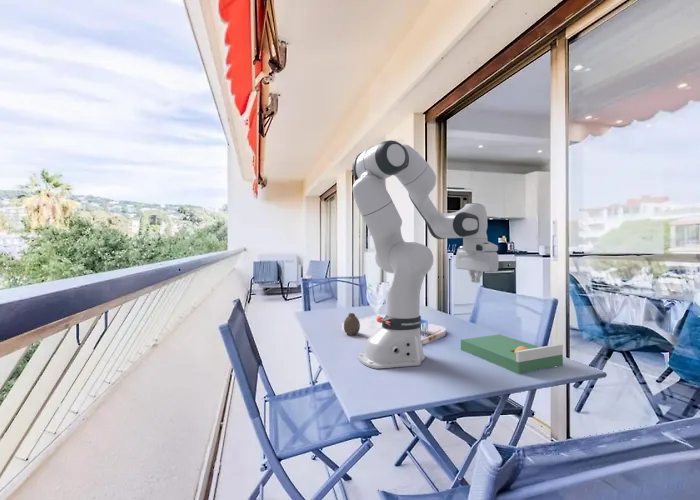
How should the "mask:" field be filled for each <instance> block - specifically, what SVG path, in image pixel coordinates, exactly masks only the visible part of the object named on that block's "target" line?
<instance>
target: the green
mask: <svg viewBox="0 0 700 500" xmlns="http://www.w3.org/2000/svg"><path fill="white" fill-rule="evenodd" d="M563 345H564V344H562V343H558V344H557V343H556V344H552V345H551V344H550V345H546V346H545V345H544V346H538V345H535V344H531V343H528V342H525V341H522V340H520V339H519V340H518V339H516V338H512V337H509V336H506V335H503V334H493V335H485V336H479V337H470V338H465V339H460V350H461V351H462V352H463V351H464V352H466V353H468V354H471V355H473V356H475V357H478V358H480V359H482V360H485V361H487V362H489V363H491V364H492V363H493V364H494V365H495V366H499V367H501V368H504V369H505V370H509V372H513V373H515V374H517V375H521V374H522V375H523V374H527V373H532V372H537V371H541V370H540V369H542V370H546V369H545V368H547V369H551V368H550V367H553V368H556V367H555V366H558V367H563V366H564V365H563V364H564V362H563V361H564V352H563V350H564V347H563ZM519 346H524V347H527V348H528V349H526V350H520V351H516V353H514V351H515V349H516V348H517V347H519ZM536 370H537V371H536Z"/></svg>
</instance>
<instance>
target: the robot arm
mask: <svg viewBox="0 0 700 500" xmlns="http://www.w3.org/2000/svg"><path fill="white" fill-rule="evenodd" d="M351 168H352V173H353V177H354V181H355V182H354V183H353V185H352V188H351V189H352V194H353V197H354V198H353V199H354V200H355V204H356V206H357V209H358V210H359V212H360V215H361V217H362V219H363V221H364V223H365V225H366V226H367V229H368V230H369V233H370V236H371V237H372V240H373V244H374V248H375V255H374V256H375V257H374V259H375V263H376V266H378V268H380V269H381V270H383V271H385V272H387V273H390V274H393V280H392V282H391V286H390V287H389V288H388V290H387V291H386V315H385V316H384V317H383V316H377V317H376V318H375V319H376V322H378V323H380V324H381V327H380V328H379V329H377V331H375V332H374V333H372V335H371V336H369V337H368V338H367V339H366V341H365V346H364V351H363V352H359V353H358V358H357V359H358V360H359V362H360V363H362V364H363V365H364V366H366V367H369V368H372V369H389V368H391V369H392V368H400V367H401V368H402V367H414V366H421V364H422V362H423V361H424V360H425V359H426V356H425V352H424V349H423V344H422V336H421V335H422V334H421V330H422V329H421V328H422V317H421V316H422V315H420V314H421V313H420V309H421V307H420V304H421V303H420V302H421V301H420V300H421V299H420V297H421V295H420V294H421V289H422V285H423V281H424V279H425V276H426V275H427V274H428V273H429V271H430V270H432V267H433V265H434V254H433V252H432V250H431V249H430V248H429V246H426V245H425V244H421V243H419V242H414V241H411V242H408V241H407V242H406V241H405V240H404V238H403V235H402V230H401V227H402V225H403V219H402V218H401V215H400V214H399V211H398V209H397V207H396V206H395V203H394V201H393V198H391V197H392V196H391V195H390V193H389V192H388V190H387V187H386V179H388V178H390V177H392V176H394V177H396V178H397V180H398V181H399V182H400V184H401V185H402V186H403V187H404V188H405V189H406V191H407V192H408V197H409V199H410V201H411V203H412V204H413V206H414V208H416V210H417V212H418V213H419V215H420V216H421V217H422V219H423V220H424V222H425V223H426V226H427V228H428V231H429V233H430V235H431V236H432V237H433V238H434V239H436V240H447V239H462V241H463V242H462V245H461V246H460V245H459V247H458V248H457V249H456V250H457V251H456V255H455V261H454V265H455V268H456V269H457V270H466V271H468V274H469V277H470V282H471V283H476V284H477V283H478V284H479V283H480V282H481V277H482V275H483V273H497V271H498V270H499V265H500V264H499V263H500V262H499V260H500V259H499V253H497V252H498V251H499V246H498V245H497V244H495V243H493V242H490V241H488V234H487V230H488V214H487V213H488V212H487V209H486V206H485V205H483V204H481V203H474V202H472V203H466V204H465V205H464V207H462V208H461V209H459V210H457V211H454V212H447V213H444V212H441V211H439V210H438V209H437V208H436V206H435V205H434V203H433V201H432V200H431V198H430V196H429V195H430V194H431V192H432V191H433V189H434V188H435V186H436V183H437V175H436V172H435V171H434V170H433V169H434V168H432V167H431V165H430V164H429V163H428V162H427V161H426V160H425V158H424V157H423V156H422V155H421V154H420V153H419V152H418V151H416V150H415V149H414V148H413V147H412V146H411V145H408V144H402V143H400V142H399V141H397V140H385V141H382V142H381V143H378V144H376V145H371V146H370V147H369V148H367V149H365V150H363V152H362V151H361V152H360V153H359V154H358V155H356V157H355V158H354V160H353V162H352V167H351Z"/></svg>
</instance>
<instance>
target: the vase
mask: <svg viewBox="0 0 700 500" xmlns="http://www.w3.org/2000/svg"><path fill="white" fill-rule="evenodd" d="M360 329H361V324H360V320H359V318H358V317H357V316H356V314H355V313H354V312H350V313H348V315H347V317H346V318H345V320H344V322H343V330H344V333H346V335H348V336H356V335H357V334H358V333H359V332H360ZM355 334H356V335H355Z"/></svg>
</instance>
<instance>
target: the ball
mask: <svg viewBox="0 0 700 500" xmlns="http://www.w3.org/2000/svg"><path fill="white" fill-rule="evenodd" d="M526 349H528V348H527V347H524V346H519V347H517V348H516V349H515V351H514V353H516V351H520V350H526Z"/></svg>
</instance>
